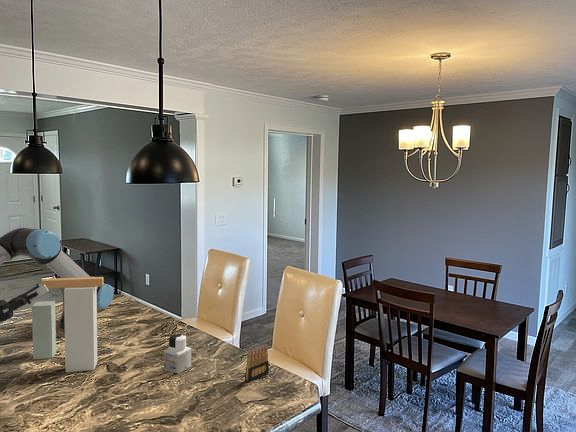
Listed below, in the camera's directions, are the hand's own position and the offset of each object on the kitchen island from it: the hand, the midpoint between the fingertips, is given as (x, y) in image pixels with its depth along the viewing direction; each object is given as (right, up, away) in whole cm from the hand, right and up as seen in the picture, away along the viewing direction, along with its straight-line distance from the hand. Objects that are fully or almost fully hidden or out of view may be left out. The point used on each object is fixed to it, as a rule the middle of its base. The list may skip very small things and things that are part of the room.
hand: (51, 283), depth 163 cm
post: (+9, -33, +6) cm, 35 cm away
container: (+46, -35, +7) cm, 58 cm away
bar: (+7, -2, +2) cm, 8 cm away
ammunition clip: (+77, -36, +1) cm, 85 cm away
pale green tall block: (-11, -32, +15) cm, 37 cm away
